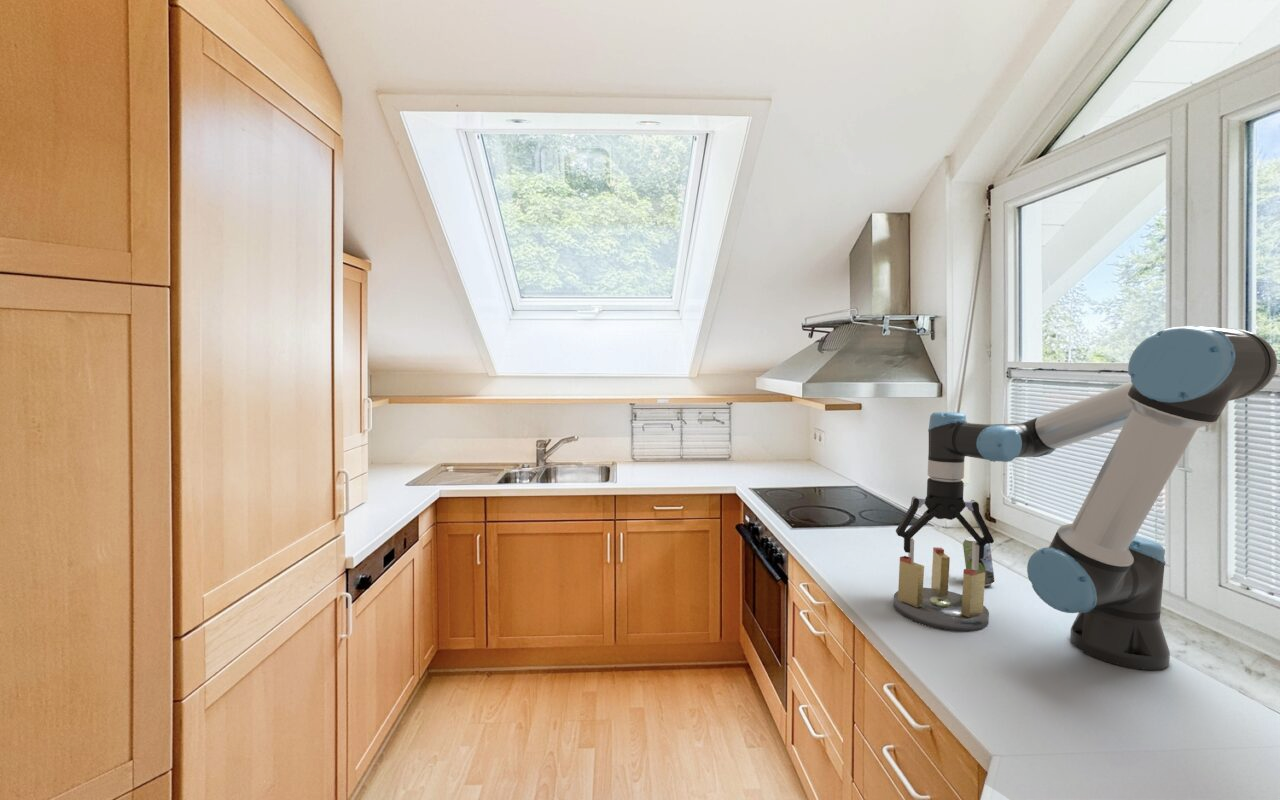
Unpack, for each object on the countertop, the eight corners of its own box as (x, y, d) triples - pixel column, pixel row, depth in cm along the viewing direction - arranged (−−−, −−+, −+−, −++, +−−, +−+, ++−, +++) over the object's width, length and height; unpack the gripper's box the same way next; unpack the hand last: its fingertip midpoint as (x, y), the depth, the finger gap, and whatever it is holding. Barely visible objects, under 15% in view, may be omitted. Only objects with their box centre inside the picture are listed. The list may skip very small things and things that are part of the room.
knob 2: (947, 595, 136) (949, 554, 136) (939, 595, 136) (941, 553, 136) (939, 587, 141) (941, 547, 140) (931, 587, 141) (933, 547, 140)
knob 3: (974, 610, 129) (977, 565, 128) (982, 613, 127) (985, 568, 126) (961, 614, 126) (963, 569, 126) (969, 617, 125) (971, 572, 124)
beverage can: (998, 589, 147) (1000, 542, 146) (965, 587, 148) (968, 540, 147) (988, 580, 153) (991, 535, 152) (957, 578, 154) (960, 533, 153)
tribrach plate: (1007, 620, 129) (1007, 607, 129) (953, 639, 120) (954, 625, 119) (927, 590, 145) (928, 578, 145) (875, 604, 136) (876, 592, 136)
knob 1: (922, 605, 130) (924, 562, 130) (916, 607, 129) (919, 563, 129) (903, 598, 134) (905, 555, 134) (897, 599, 134) (899, 557, 133)
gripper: (1001, 479, 137) (997, 569, 138) (885, 473, 144) (882, 559, 145) (1011, 484, 130) (1008, 579, 131) (889, 478, 137) (886, 568, 138)
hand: (942, 569), depth 138 cm, fingers open, 13 cm apart
